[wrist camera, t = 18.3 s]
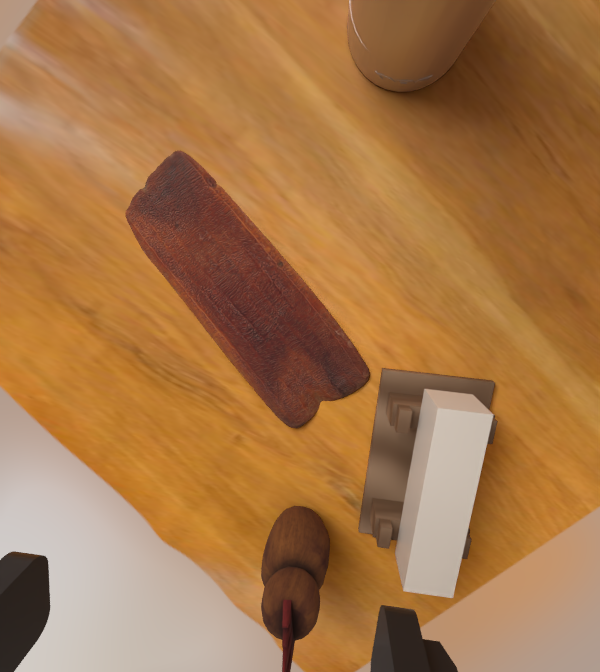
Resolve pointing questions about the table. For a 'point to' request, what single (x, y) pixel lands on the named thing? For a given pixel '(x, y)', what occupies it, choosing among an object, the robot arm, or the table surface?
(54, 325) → the table surface
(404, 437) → the rack
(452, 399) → the white rectangular block
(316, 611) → the wooden figurine
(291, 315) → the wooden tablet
